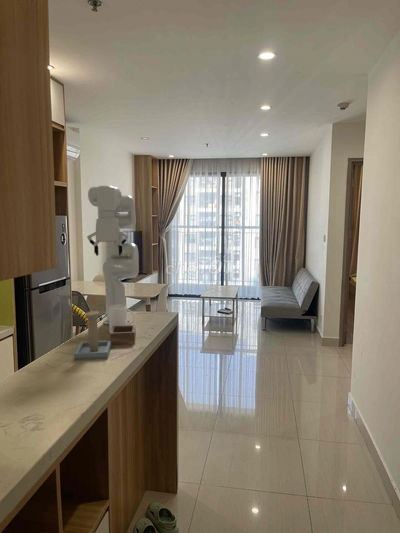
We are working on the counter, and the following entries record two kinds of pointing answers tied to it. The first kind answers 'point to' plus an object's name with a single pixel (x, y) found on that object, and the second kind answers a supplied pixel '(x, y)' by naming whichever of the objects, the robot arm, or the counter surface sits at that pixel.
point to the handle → (93, 330)
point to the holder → (123, 335)
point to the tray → (86, 354)
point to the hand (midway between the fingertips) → (108, 255)
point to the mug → (118, 316)
